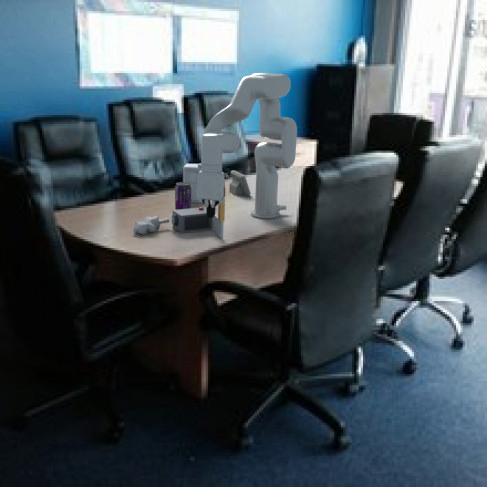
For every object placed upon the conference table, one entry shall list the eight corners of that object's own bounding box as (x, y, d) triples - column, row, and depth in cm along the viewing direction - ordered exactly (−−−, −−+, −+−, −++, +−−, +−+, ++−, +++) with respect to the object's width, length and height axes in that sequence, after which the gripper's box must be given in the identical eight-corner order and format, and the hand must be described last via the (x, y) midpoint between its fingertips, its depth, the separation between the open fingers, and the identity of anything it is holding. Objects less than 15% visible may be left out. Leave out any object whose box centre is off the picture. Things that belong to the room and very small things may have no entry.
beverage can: (188, 212, 251) (188, 185, 247) (173, 211, 252) (172, 184, 249) (193, 209, 258) (193, 182, 254) (178, 207, 259) (177, 181, 255)
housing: (204, 223, 236) (204, 205, 234) (214, 229, 228) (214, 210, 226) (169, 227, 229) (169, 208, 227) (178, 233, 221) (178, 214, 219)
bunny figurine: (127, 223, 219) (152, 210, 231) (128, 235, 221) (154, 222, 233) (146, 227, 215) (171, 214, 226) (147, 240, 217) (172, 226, 228)
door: (210, 228, 227) (210, 195, 223) (214, 228, 228) (214, 195, 224) (220, 238, 216) (220, 203, 212) (224, 238, 216) (224, 203, 212)
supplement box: (206, 198, 277) (206, 164, 272) (202, 203, 268) (203, 167, 263) (186, 197, 278) (186, 163, 273) (182, 202, 269) (182, 166, 264)
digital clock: (251, 197, 284) (251, 175, 280) (233, 197, 282) (233, 175, 279) (245, 189, 299) (245, 169, 295) (227, 190, 297) (228, 169, 294)
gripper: (188, 168, 208) (188, 217, 213) (227, 171, 203) (226, 222, 209) (196, 165, 214) (196, 212, 220) (234, 168, 210) (233, 217, 216)
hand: (210, 217), depth 214 cm, fingers closed
